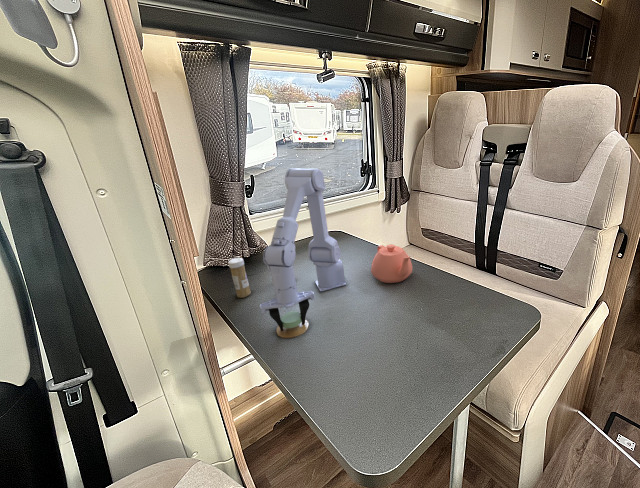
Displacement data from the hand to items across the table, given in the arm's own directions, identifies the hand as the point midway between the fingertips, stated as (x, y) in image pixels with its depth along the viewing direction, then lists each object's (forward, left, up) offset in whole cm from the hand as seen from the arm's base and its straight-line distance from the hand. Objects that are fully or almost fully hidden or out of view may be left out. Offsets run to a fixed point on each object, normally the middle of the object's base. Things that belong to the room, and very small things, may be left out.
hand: (292, 325), depth 92 cm
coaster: (0, 0, -1) cm, 1 cm away
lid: (0, 0, +3) cm, 3 cm away
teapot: (-39, -13, -1) cm, 42 cm away
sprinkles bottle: (+12, -28, -1) cm, 30 cm away
